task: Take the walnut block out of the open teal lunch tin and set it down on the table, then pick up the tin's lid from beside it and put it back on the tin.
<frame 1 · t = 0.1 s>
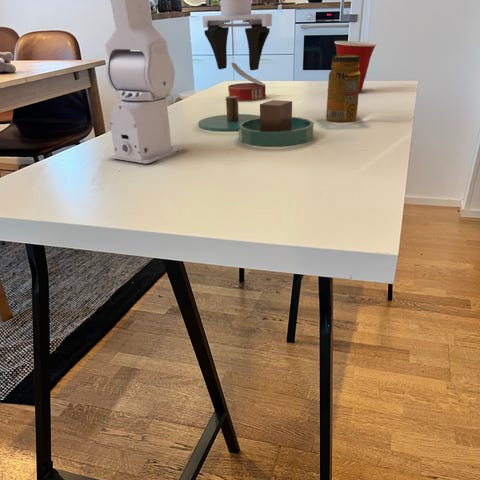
hand: (237, 69, 96), 10 cm above the table, tool pointing down, fingers open, 7 cm apart
lid: (233, 123, 98), point 1 cm above the table
condiment: (340, 124, 97), on the table
canned food: (247, 98, 127), on the table
tin: (276, 140, 87), on the table
block: (276, 138, 87), resting on tin
plastic cup: (351, 92, 130), on the table
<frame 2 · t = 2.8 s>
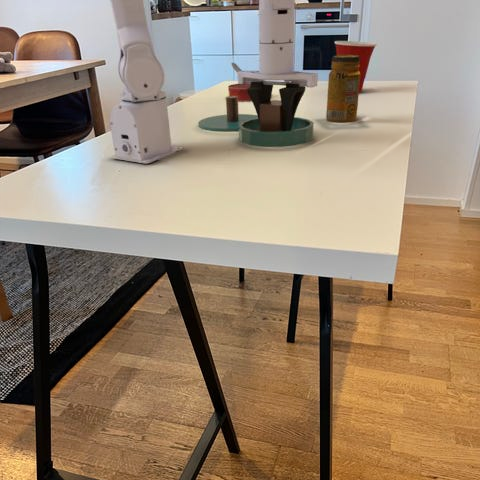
hand: (276, 129, 86), 2 cm above the table, tool pointing down, fingers closed on block, 4 cm apart
block: (275, 138, 87), resting on tin, touching gripper
everything else where it was.
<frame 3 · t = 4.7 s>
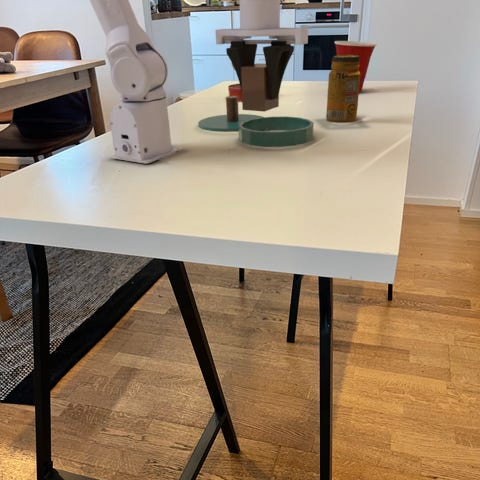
hand: (260, 97, 74), 9 cm above the table, tool pointing down, fingers closed on block, 4 cm apart
block: (260, 108, 75), point 7 cm above the table, touching gripper
everything else where it was.
when the fingers open (1 cm above the table, at t = 6.9 s): block stays where it is, on the table.
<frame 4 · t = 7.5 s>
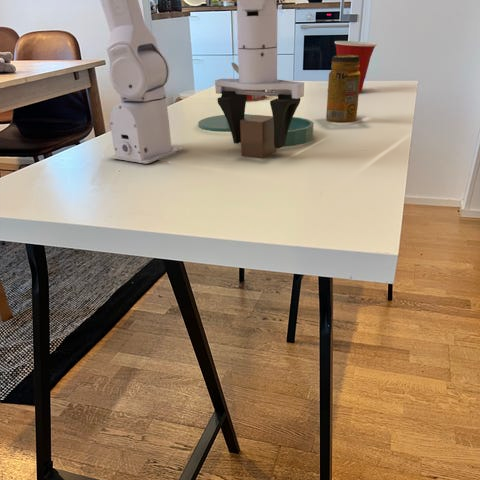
hand: (258, 144, 77), 2 cm above the table, tool pointing down, fingers open, 7 cm apart
block: (259, 157, 78), on the table
everything else where it was.
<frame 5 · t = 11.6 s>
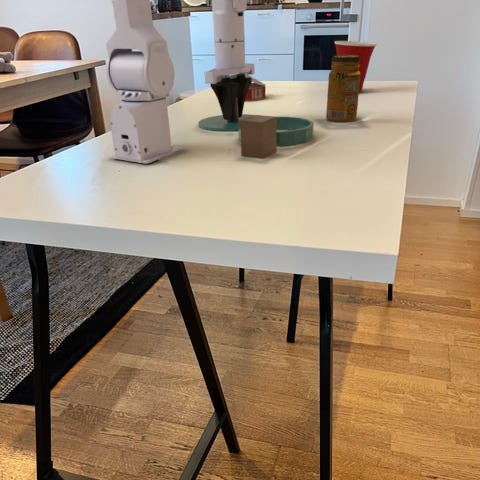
hand: (232, 118, 98), 2 cm above the table, tool pointing down, fingers closed on lid, 2 cm apart
lid: (233, 123, 98), point 1 cm above the table, touching gripper
everything else where it was.
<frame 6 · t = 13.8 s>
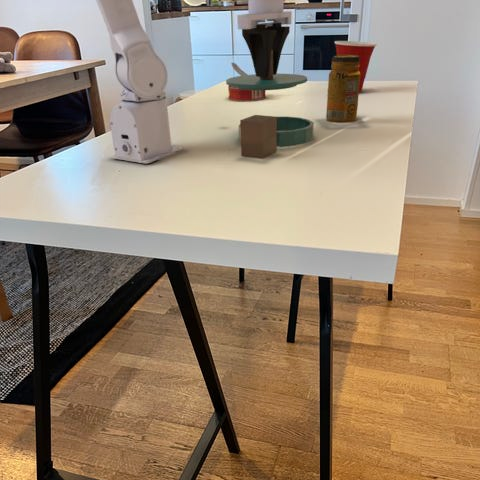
hand: (266, 75, 84), 10 cm above the table, tool pointing down, fingers closed on lid, 2 cm apart
lid: (266, 81, 84), point 9 cm above the table, touching gripper
everything else where it was.
when the fingers open (4 cm above the table, at t = 15.9 s): lid stays where it is, resting on tin.
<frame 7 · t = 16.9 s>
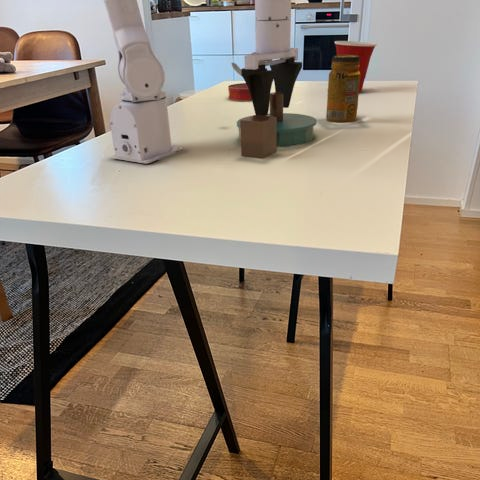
hand: (272, 111, 84), 5 cm above the table, tool pointing down, fingers open, 7 cm apart
lid: (276, 123, 85), point 3 cm above the table, touching tin
everything else where it was.
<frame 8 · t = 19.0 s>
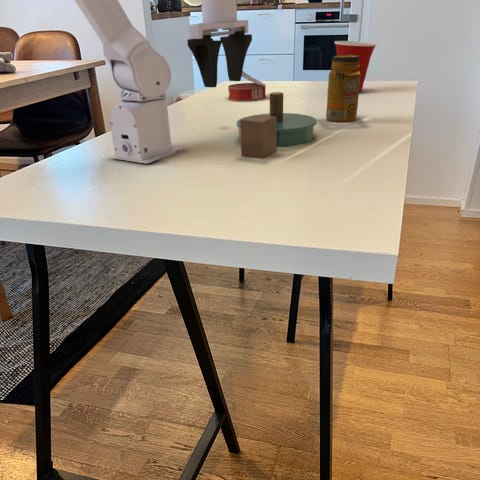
hand: (223, 83, 84), 9 cm above the table, tool pointing down, fingers open, 7 cm apart
nothing on the table moved.
at the end: block inside the target area (0.0 cm from its centre), on the table; lid 0.0 cm off-centre on the tin, point 2.9 cm above the tin's base; lid tilted 0° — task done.
